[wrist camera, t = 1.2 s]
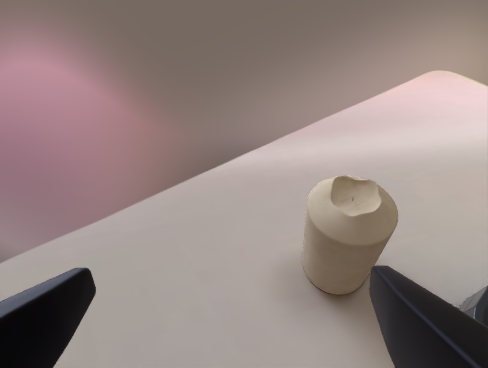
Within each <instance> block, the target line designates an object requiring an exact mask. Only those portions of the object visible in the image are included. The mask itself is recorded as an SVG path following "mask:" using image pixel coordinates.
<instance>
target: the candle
mask: <svg viewBox="0 0 488 368" xmlns="http://www.w3.org/2000/svg"><path fill="white" fill-rule="evenodd" d="M397 222H398V210H397V207H396V204H395V202H394V201H393V199H392V198H391V196H390V195H389V194H388V193H387V192H386V191H385V190H384V189H383V188H381V187H380V186H379V185H377V184H376V182H374V181H373V180H367V179H364V178H361V177H357V176H345V175H344V176H335V177H331V178H328V179H325V180H323V181H321V182H320V183H318V184H317V185H316V186H315V187H314V188H313V189H312V190H311V192H310V194H309V196H308V199H307V206H306V218H305V229H304V240H303V252H302V264H303V268H304V271H305V273H306V275H307V277H308V278H309V280H310V281H311V282H312V283H313V284H314V285H315V286H316V287H318V288H319V289H321V290H323V291H325V292H328V293H331V294H337V295H342V294H348V293H351V292H353V291H355V290H357V289H358V288H359V287H360V286H361V285H362V284H363V283H364V282H365V280H366V279H367V277H368V275H369V273H370V272H371V269H372V267H373V266H374V265H375V263H376V261H377V260H378V258H379V256H380V254H381V253H382V251H383V249H384V247H385V246H386V244H387V242H388V240H389V239H390V237H391V235H392V233H393V232H394V230H395V228H396V226H397Z"/></svg>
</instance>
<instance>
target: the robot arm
mask: <svg viewBox="0 0 488 368" xmlns="http://www.w3.org/2000/svg"><path fill="white" fill-rule="evenodd" d="M369 291H370V297H371V300H372V303H373V307H374V310H375V313H376V316H377V319H378V322H379V325H380V328H381V331H382V335H383V338H384V341H385V344H386V347H387V349H388V352H389V354H390V357H391V359H392V362H393V364H394V366H395V368H488V327H487V326H485V325H484V324H482V323H481V322H479V321H477V320H476V319H474V318H472V317H471V316H469V315H467V314H466V313H464V312H462V311H461V310H459V309H458V308H456V307H454V306H453V305H451V304H449V303H448V302H446V301H444V300H443V299H441V298H440V297H438V296H436V295H435V294H433V293H431V292H430V291H428V290H426V289H425V288H423V287H421V286H420V285H418V284H417V283H415V282H413V281H412V280H410V279H408V278H407V277H405V276H403V275H402V274H400V273H398V272H397V271H395V270H394V269H392V268H390V267H388V266H373V267H372V269H371V276H370V288H369ZM95 293H96V287H95V284H94V281H93V277H92V274H91V271H90V270H89V269H88V268H74V269H72V270H70V271H67V272H65V273H63V274H61V275H58V276H56V277H54V278H52V279H50V280H47V281H45V282H43V283H41V284H38V285H36V286H34V287H32V288H30V289H27V290H25V291H23V292H21V293H18V294H16V295H14V296H12V297H10V298H7V299H5V300H3V301H1V302H0V368H53V367H54V365H55V364H56V362H57V361H58V359H59V358H60V356H61V355H62V353H63V351H64V350H65V348H66V347H67V345H68V343H69V342H70V340H71V338H72V337H73V335H74V333H75V331H76V329H77V328H78V326H79V324H80V322H81V320H82V318H83V316H84V315H85V313H86V311H87V309H88V307H89V305H90V303H91V301H92V300H93V298H94V296H95Z"/></svg>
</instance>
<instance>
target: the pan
mask: <svg viewBox="0 0 488 368" xmlns="http://www.w3.org/2000/svg"><path fill="white" fill-rule="evenodd" d="M459 310H461V311H462V312H464V313H466V314H467V315H469V316H471V317H472V318H474V319H476V320H477V321H479V322H481V323H482V324H484V325H485V326H487V327H488V286H486V287H485V288H483V289H482V290H480V291H478V292H477V293H475V294H474V295H472V296H471V297H469V298H468V299H467V300H466V301H465V302H464V303H463V305H462V306H461V308H460V309H459Z"/></svg>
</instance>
